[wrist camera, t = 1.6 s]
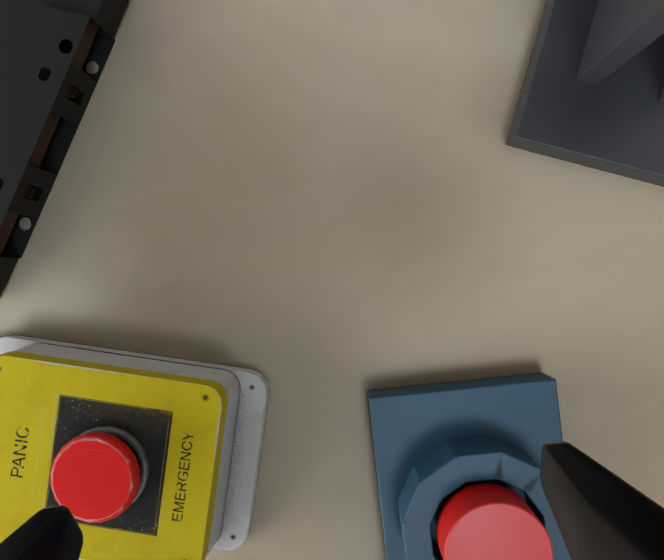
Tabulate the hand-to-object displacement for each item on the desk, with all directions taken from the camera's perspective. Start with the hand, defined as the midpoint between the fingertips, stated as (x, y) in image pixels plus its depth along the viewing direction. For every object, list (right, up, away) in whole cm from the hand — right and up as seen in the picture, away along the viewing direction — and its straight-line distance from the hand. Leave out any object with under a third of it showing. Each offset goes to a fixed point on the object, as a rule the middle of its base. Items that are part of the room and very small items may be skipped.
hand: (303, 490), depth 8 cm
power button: (+7, -7, +11) cm, 15 cm away
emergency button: (-11, -4, +15) cm, 19 cm away
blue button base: (+8, -7, +14) cm, 18 cm away
